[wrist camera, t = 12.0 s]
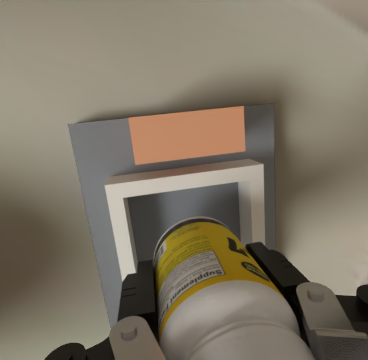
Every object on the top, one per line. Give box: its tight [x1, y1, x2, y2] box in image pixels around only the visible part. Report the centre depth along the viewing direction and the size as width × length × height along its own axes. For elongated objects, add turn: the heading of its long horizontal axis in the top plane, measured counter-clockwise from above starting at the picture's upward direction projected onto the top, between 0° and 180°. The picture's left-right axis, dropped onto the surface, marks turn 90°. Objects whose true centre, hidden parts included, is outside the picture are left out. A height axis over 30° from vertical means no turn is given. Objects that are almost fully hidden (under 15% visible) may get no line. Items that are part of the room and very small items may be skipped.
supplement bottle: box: [154, 216, 316, 360], centre depth 10 cm, size 5×5×8 cm
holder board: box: [68, 103, 275, 329], centre depth 17 cm, size 26×12×6 cm, turn 5°
